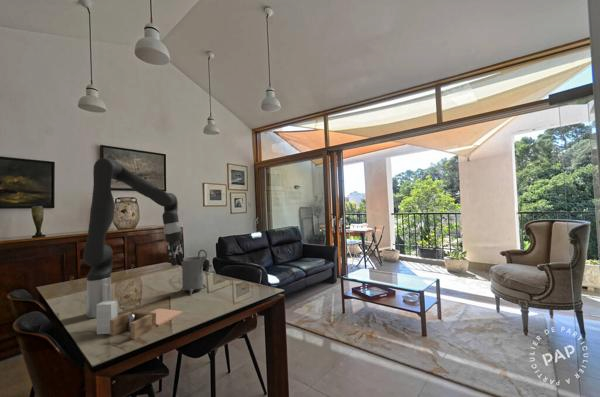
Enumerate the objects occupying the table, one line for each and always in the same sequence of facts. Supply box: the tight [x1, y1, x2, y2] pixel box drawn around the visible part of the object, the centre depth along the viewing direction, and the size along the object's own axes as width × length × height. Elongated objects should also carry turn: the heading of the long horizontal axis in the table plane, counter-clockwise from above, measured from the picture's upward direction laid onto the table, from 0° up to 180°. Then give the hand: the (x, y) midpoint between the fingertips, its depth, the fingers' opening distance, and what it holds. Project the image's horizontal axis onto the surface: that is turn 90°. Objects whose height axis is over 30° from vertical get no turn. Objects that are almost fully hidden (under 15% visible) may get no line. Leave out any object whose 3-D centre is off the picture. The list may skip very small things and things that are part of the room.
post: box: [127, 314, 135, 332], centre depth 110 cm, size 2×2×6 cm
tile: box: [150, 308, 184, 327], centre depth 121 cm, size 15×14×1 cm
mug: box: [180, 249, 208, 296], centre depth 158 cm, size 19×15×25 cm
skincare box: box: [96, 300, 119, 335], centre depth 108 cm, size 6×4×12 cm
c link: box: [109, 309, 157, 340], centre depth 108 cm, size 10×13×6 cm
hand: (177, 263), depth 132 cm, fingers open, 8 cm apart
